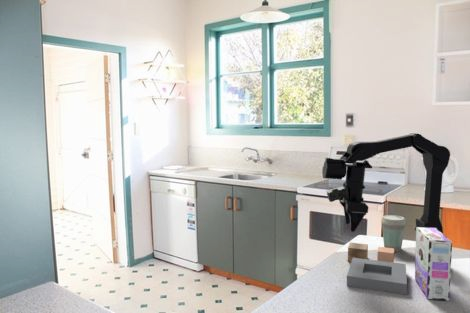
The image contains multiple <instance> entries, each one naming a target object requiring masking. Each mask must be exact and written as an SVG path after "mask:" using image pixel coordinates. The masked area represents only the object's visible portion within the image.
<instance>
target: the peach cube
mask: <svg viewBox="0 0 470 313" xmlns="http://www.w3.org/2000/svg"><path fill="white" fill-rule="evenodd" d="M376 259H377V261H385V262H394V263H395V251H394V248H385V247H384V246H378V247H377V258H376Z"/></svg>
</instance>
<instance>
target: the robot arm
mask: <svg viewBox="0 0 470 313" xmlns="http://www.w3.org/2000/svg"><path fill="white" fill-rule="evenodd" d="M407 148H413V149H414V150H415V151H416V152H417V153H419V154H421V155H422V164H423V165H424V169H425V173H426V174H425V185H424V186H425V188H424V200H423V201H424V202H423V213H422V215H421V217H420V218H415V228H414V231H416V227H426V228H437V229H438V230H439V231H440V232H441V233H442V234H443V235H444V228H443V224H442V222H441V218H440V212H441V211H440V210H441V200H442V188H443V187H442V184H443V174H444V173H445V170H446V169H447V167H448V166H449V162H450V158H451V151H450V149H448V147H446V146H443V145H439V144H437V143H435V142H433V141H432V140H430V139H428V138H426V137H424V136H423V135H422V134H420V133H416V132H415V133H409V134H406V135H401V136H397V137H391V138H386V139H381V140H376V141H353V142H351V143H349V144H348V146H347V148H346V151H345V152H344V153H343V154H342V156H341V157H340V158H332V157H331V158H330V157H325V160H324V163H323V166H322V168H321V169H322V171H321V173H322V179H325V180H327V179H328V180H339V181H341V180H342V179H343V178H345V181H344V182H343V183H342V186H339V187H334V188H331V189H327V190H326V196H327V198H328V199H327V200H329V202H330V203H333V202H335V201H339V204H340V205H341V206H342V207H343V213H344V214H343V215H344V220H345V224H346V225H349V226H350V232H353V233H355V231H356V229H357V228H358V226H359V225H360V223H361V221H362V220H363V218H364V217H365V216H366V215H367V214H368V213H369V206H368V205H367V203H366V202H365V201H364V197H363V192H364V190H365V189H366V186H365V185H364V184H365V175H366V169H372V168H373V166H372V165H371V164H370V162H369V160H368V159H370V158H373V157H374V156H377V155H379V154H382V153H387V152H393V151H397V150H402V149H407Z"/></svg>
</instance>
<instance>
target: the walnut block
mask: <svg viewBox="0 0 470 313" xmlns="http://www.w3.org/2000/svg"><path fill="white" fill-rule="evenodd" d="M368 245H369V244H368V243H359V242H358V243H357V242H349V244H348V247H347V262H349V263H351V262H352V258H361V259H368V258H369V257H368V256H369V255H368V253H369V248H368V247H369V246H368Z"/></svg>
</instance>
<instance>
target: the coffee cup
mask: <svg viewBox="0 0 470 313" xmlns="http://www.w3.org/2000/svg"><path fill="white" fill-rule="evenodd" d="M406 222H407V221H406V219H405V217H403V216H401V215H396V214H388V215H387V214H386V215H383V216H382V218H381V220H380V223H381V226H382V237H383V247H385V248H394V252H401V251H402V247H403V240H404V234H405V227H406V226H405V225H407V223H406Z"/></svg>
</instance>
